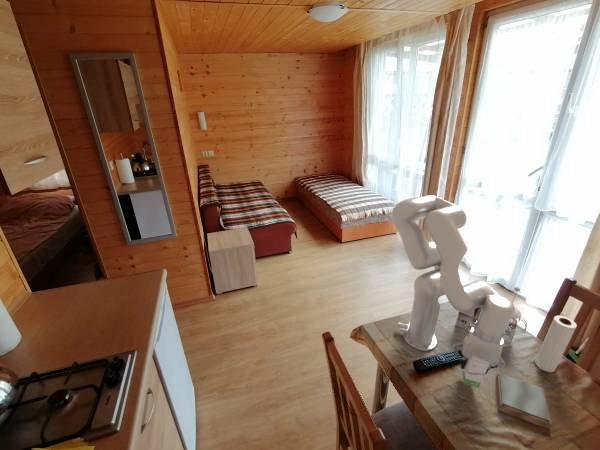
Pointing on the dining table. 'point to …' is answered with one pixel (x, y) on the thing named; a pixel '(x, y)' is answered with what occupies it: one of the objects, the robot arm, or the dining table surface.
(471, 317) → the coffee box
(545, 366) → the paper towel roll
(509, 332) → the french press
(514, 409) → the stand
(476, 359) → the ink box
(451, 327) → the dining table surface
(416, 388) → the dining table surface
